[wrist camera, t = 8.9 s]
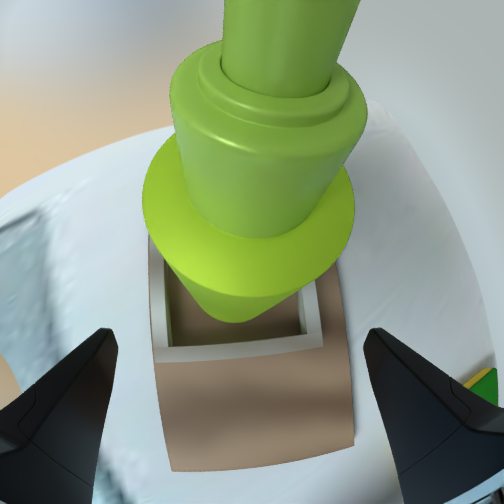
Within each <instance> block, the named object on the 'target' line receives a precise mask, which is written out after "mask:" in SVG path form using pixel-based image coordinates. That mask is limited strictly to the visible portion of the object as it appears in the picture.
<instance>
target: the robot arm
mask: <svg viewBox="0 0 504 504" xmlns="http://www.w3.org/2000/svg"><path fill="white" fill-rule="evenodd" d="M363 351H364V355H365V359H366V364H367V368H368V372H369V377H370V381H371V385H372V389H373V392H374V395H375V398H376V401H377V404H378V407H379V410H380V413H381V417H382V420H383V423H384V427H385V430H386V433H387V437H388V440H389V444H390V447H391V451H392V455H393V458H394V462H395V466H396V470H397V474H398V475H399V476H398V478H399V483H400V487H401V491H402V495H403V500H404V504H504V408H501V407H498V406H496V405H494V404H492V403H491V402H489V401H487V400H486V399H484V398H482V397H481V396H479V395H477V394H475V393H474V392H472V391H471V390H469V389H467V388H466V387H464V386H463V385H461V384H460V383H459V382H457V381H456V380H454V379H453V378H452V377H449V375H447V374H446V373H445V372H443V371H442V370H440V369H439V368H438V367H436V366H435V365H433V364H432V363H431V362H429V361H428V360H426V359H425V358H424V357H422V356H421V355H419V354H418V353H417V352H415V351H414V350H412V349H411V348H410V347H408V346H407V345H405V344H404V343H402V342H401V341H400V340H398V339H397V338H395V337H394V336H393V335H391V334H390V333H388V332H387V331H385V330H384V329H383V328H372V329H370V331H369V333H368V335H367V338H366V340H365V342H364V345H363ZM117 355H118V345H117V342H116V339H115V336H114V333H113V331H112V329H110V328H100V329H98V330H97V331H96V332H95V333H93V334H92V335H91V336H90V337H89V338H87V339H86V340H85V341H84V342H82V343H81V344H80V345H79V346H78V347H76V348H75V349H74V350H73V351H72V352H70V353H69V354H68V355H67V356H66V357H64V358H63V359H62V360H61V361H60V362H58V363H57V364H56V365H55V366H54V367H53V368H51V369H50V370H49V371H48V372H47V373H46V374H44V375H43V376H42V377H41V378H40V379H39V380H38V381H36V382H35V384H33V385H32V386H31V387H29V388H28V389H27V390H26V391H25V392H24V393H22V394H21V395H20V396H19V397H18V398H16V399H15V400H14V401H12V402H11V403H10V404H9V405H7V406H6V407H4V408H3V409H2V410H0V504H92V496H93V486H94V479H95V472H96V466H97V459H98V454H99V448H100V443H101V437H102V432H103V428H104V423H105V418H106V414H107V409H108V405H109V401H110V397H111V393H112V388H113V382H114V375H115V368H116V361H117Z"/></svg>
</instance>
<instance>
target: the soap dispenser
mask: <svg viewBox="0 0 504 504" xmlns="http://www.w3.org/2000/svg"><path fill="white" fill-rule="evenodd" d="M359 3H360V0H225V3H224V20H223V40H220V41H217V42H214V43H211V44H209V45H206V46H204V47H202V48H200V49H198V50H196V51H195V52H193V53H192V54H191V55H189V56H188V57H187V58H186V59H185V60H184V61H183V62H182V63H181V64H180V65H179V66H178V68H177V69H176V71H175V73H174V75H173V77H172V80H171V84H170V104H171V111H172V117H173V122H174V128H175V133H174V134H173V135H172V136H171V137H170V138H169V139H168V140H167V141H166V142H165V143H164V144H163V145H162V146H161V148H160V149H159V150H158V152H157V153H156V155H155V156H154V158H153V160H152V162H151V164H150V166H149V168H148V171H147V174H146V177H145V180H144V185H143V193H142V207H143V215H144V219H145V223H146V226H147V229H148V232H149V234H150V237H151V239H152V241H153V242H154V244H155V246H156V247H157V249H158V251H159V252H160V253H161V255H162V256H163V258H164V259H165V260H166V262H167V263H168V264H169V266H170V267H171V269H172V270H173V271H174V273H175V274H176V275H177V277H178V278H179V279H180V281H181V282H182V283H183V285H184V286H185V287H186V289H187V290H188V291H189V292H190V294H191V295H192V296H193V298H194V299H195V300H196V302H197V303H198V304H199V305H200V307H201V308H202V309H203V310H204V311H205V312H206V313H207V314H209V315H210V316H211V317H213V318H215V319H217V320H220V321H223V322H228V323H240V322H245V321H248V320H251V319H253V318H255V317H256V316H258V315H260V314H261V313H263V312H265V311H266V310H268V309H270V308H271V307H273V306H274V305H276V304H278V303H279V302H281V301H282V300H284V299H286V298H287V297H289V296H290V295H292V294H294V293H295V292H297V291H298V290H300V289H301V288H303V287H305V286H306V285H308V284H309V283H311V282H312V281H314V280H315V279H317V278H318V277H319V276H321V275H322V274H323V273H324V272H325V271H327V270H328V269H329V268H330V267H331V266H332V265H333V263H334V262H335V261H336V260H337V259H338V257H339V256H340V254H341V253H342V251H343V249H344V248H345V246H346V244H347V242H348V239H349V237H350V234H351V230H352V227H353V222H354V212H355V204H354V194H353V189H352V185H351V182H350V179H349V176H348V174H347V172H346V170H345V168H344V166H343V164H344V162H345V161H346V159H347V158H348V156H349V155H350V153H351V152H352V150H353V148H354V147H355V145H356V144H357V142H358V140H359V139H360V137H361V135H362V133H363V131H364V128H365V125H366V122H367V115H368V111H367V104H366V101H365V98H364V95H363V93H362V91H361V89H360V87H359V85H358V84H357V83H356V81H355V80H354V78H353V77H352V76H351V75H350V74H349V73H348V72H347V71H346V70H345V69H344V68H343V67H342V66H340V65H339V64H338V63H337V62H336V61H337V58H338V56H339V54H340V51H341V49H342V46H343V43H344V41H345V38H346V36H347V33H348V31H349V28H350V26H351V23H352V21H353V18H354V15H355V13H356V10H357V8H358V5H359Z"/></svg>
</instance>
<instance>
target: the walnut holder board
mask: <svg viewBox="0 0 504 504" xmlns="http://www.w3.org/2000/svg"><path fill="white" fill-rule="evenodd" d="M148 278H149V308H150V325H151V339H152V351H153V361H154V370H155V379H156V387H157V394H158V401H159V408H160V414H161V420H162V426H163V432H164V437H165V442H166V447H167V452H168V457H169V461H170V466H171V470H172V471H174V472H204V471H225V470H237V469H247V468H256V467H263V466H270V465H276V464H282V463H288V462H293V461H298V460H303V459H307V458H312V457H316V456H320V455H324V454H328V453H331V452H335V451H338V450H342V449H345V448H349V447H352V446H354V422H353V403H352V388H351V375H350V364H349V354H348V345H347V336H346V328H345V320H344V313H343V306H342V299H341V292H340V286H339V280H338V274H337V268H336V262H334V263H333V265H332V266H331V267H330V268H329V269H328V270H327V271H325V272H324V273H323V274H322V275H321V276H319V277H318V278H317V279H315V280H314V281H312V282H311V283H309V284H308V285H306V286H305V287H303V288H301V289H300V290H298V291H297V292H295V293H294V294H292V295H290V296H289V297H287V298H286V299H284V300H282V301H281V302H279V303H278V304H276V305H274V306H273V307H271V308H270V309H268V310H266V311H265V312H263V313H261V314H260V315H258V316H256V317H255V318H253V319H251V320H248V321H245V322H240V323H228V322H223V321H220V320H217V319H215V318H213V317H211V316H210V315H209V314H207V313H206V312H205V311H204V310H203V309H202V308H201V307H200V305H199V304H198V303H197V302H196V300H195V299H194V298H193V296H192V295H191V294H190V292H189V291H188V290H187V289H186V287H185V286H184V285H183V283H182V282H181V281H180V279H179V278H178V277H177V275H176V274H175V273H174V271H173V270H172V269H171V267H170V266H169V264H168V263H167V262H166V260H165V259H164V258H163V256H162V255H161V253H160V252H159V251H158V249H157V247H156V246H155V244H154V242H153V241H152V239H151V237H150V234H149V239H148Z"/></svg>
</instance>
